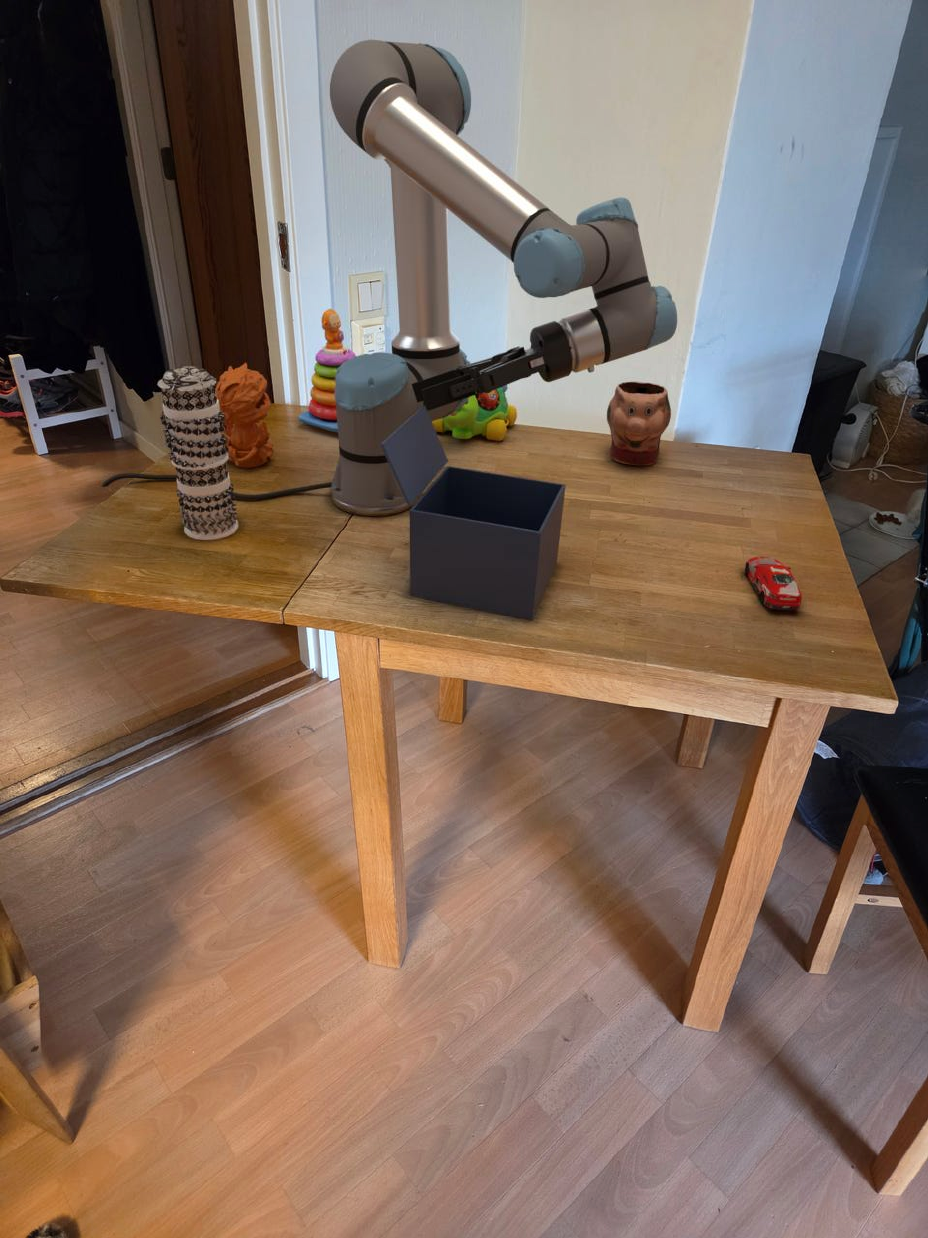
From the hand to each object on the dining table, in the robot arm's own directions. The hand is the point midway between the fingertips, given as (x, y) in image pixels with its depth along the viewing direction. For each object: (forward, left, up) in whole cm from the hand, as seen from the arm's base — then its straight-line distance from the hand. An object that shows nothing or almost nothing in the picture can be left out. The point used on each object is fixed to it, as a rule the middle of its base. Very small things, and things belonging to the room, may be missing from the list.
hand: (419, 396), depth 106 cm
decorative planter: (+26, +53, -25) cm, 64 cm away
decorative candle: (-34, -4, -25) cm, 42 cm away
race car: (+52, +8, -25) cm, 58 cm away
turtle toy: (-8, +52, -25) cm, 58 cm away
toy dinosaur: (-42, +22, -25) cm, 54 cm away
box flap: (+1, -4, -6) cm, 8 cm away
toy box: (+12, -4, -25) cm, 28 cm away
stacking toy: (-35, +46, -25) cm, 63 cm away
